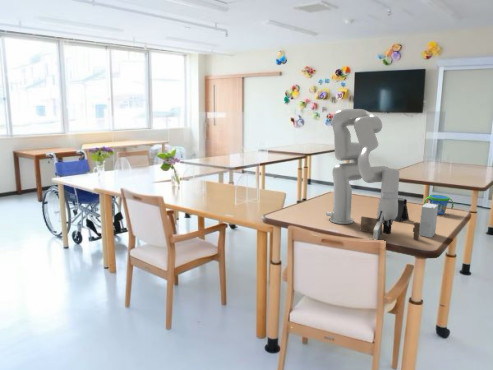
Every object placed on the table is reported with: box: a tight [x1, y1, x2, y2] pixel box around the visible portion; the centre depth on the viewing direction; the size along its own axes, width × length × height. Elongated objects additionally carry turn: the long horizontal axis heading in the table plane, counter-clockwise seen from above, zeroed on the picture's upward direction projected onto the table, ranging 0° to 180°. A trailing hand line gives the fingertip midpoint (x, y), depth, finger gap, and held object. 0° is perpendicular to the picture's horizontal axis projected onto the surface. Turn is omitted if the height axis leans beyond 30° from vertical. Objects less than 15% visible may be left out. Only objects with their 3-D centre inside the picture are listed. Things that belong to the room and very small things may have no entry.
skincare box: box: [419, 202, 438, 239], centre depth 201 cm, size 8×6×15 cm
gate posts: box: [360, 216, 420, 241], centre depth 202 cm, size 28×3×9 cm, turn 56°
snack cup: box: [423, 194, 454, 216], centre depth 241 cm, size 16×10×10 cm
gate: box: [372, 221, 381, 240], centre depth 196 cm, size 14×2×6 cm, turn 156°
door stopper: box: [393, 197, 410, 223], centre depth 228 cm, size 9×6×12 cm, turn 123°
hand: (386, 233), depth 196 cm, fingers closed
